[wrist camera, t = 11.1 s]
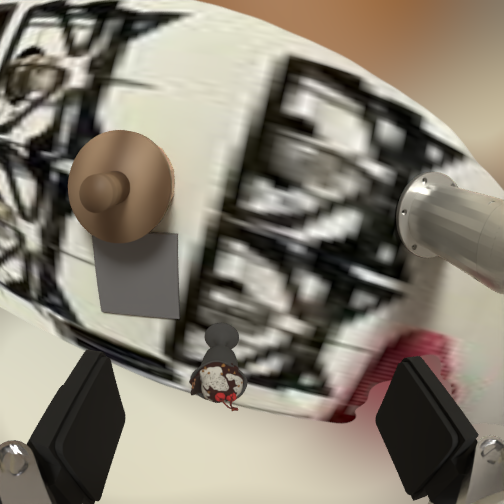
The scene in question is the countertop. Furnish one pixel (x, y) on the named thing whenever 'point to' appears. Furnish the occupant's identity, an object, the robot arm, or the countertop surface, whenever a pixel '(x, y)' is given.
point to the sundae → (219, 367)
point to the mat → (139, 276)
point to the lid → (120, 186)
